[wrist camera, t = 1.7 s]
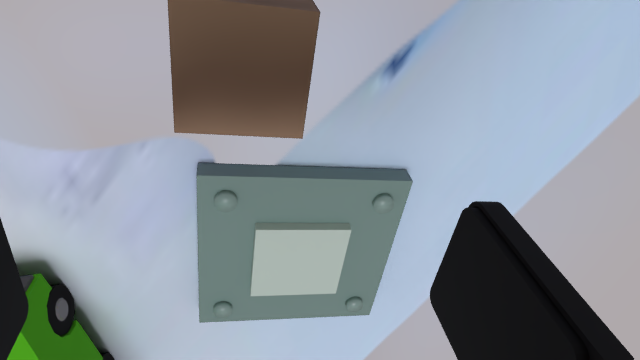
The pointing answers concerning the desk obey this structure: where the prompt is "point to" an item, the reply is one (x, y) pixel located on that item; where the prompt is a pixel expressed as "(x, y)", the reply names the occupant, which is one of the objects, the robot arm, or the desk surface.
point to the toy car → (52, 326)
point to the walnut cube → (242, 65)
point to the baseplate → (294, 239)
